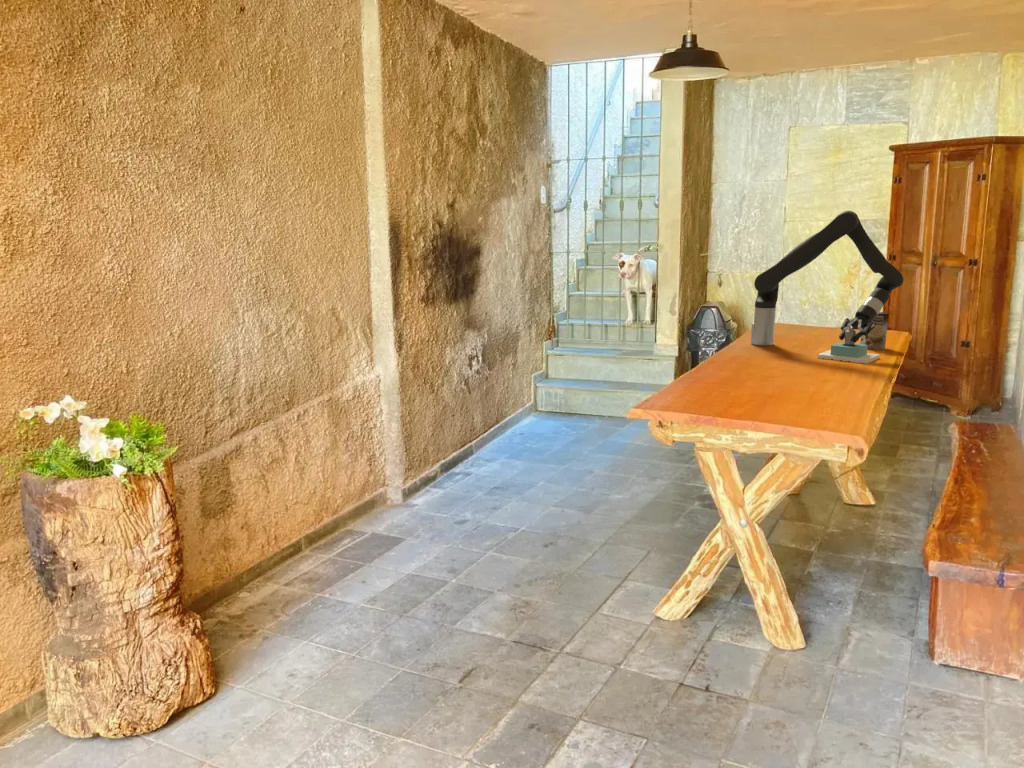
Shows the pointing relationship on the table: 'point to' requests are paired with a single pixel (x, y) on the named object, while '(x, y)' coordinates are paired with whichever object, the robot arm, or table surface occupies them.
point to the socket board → (859, 360)
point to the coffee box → (877, 333)
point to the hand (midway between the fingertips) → (846, 340)
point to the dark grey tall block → (849, 338)
